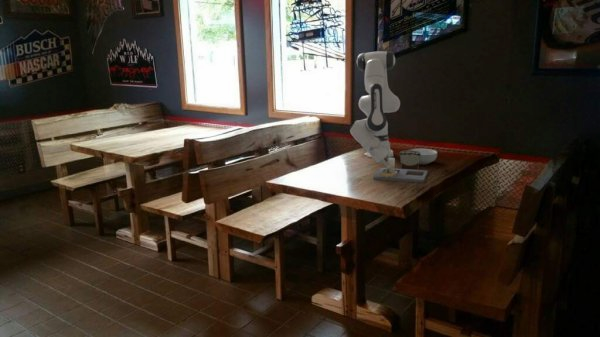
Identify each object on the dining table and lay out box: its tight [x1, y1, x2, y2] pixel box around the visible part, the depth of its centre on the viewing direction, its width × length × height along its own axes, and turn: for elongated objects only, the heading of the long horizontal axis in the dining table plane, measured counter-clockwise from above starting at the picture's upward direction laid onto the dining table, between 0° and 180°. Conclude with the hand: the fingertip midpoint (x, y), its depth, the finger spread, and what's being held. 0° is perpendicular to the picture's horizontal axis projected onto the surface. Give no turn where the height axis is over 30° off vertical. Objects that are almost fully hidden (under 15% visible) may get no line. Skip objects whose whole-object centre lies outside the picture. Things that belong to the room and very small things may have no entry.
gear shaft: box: [386, 157, 398, 174], centre depth 270 cm, size 7×7×9 cm
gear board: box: [372, 167, 429, 184], centre depth 266 cm, size 20×26×5 cm
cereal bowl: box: [410, 148, 438, 165], centre depth 294 cm, size 17×17×7 cm
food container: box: [399, 149, 421, 170], centre depth 282 cm, size 12×6×10 cm, turn 74°
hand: (390, 164), depth 270 cm, fingers open, 8 cm apart
